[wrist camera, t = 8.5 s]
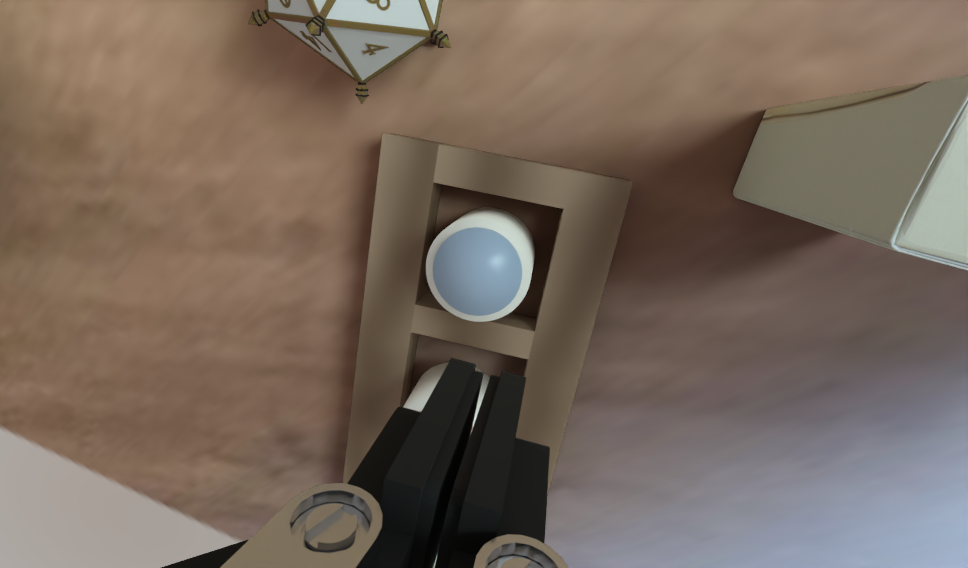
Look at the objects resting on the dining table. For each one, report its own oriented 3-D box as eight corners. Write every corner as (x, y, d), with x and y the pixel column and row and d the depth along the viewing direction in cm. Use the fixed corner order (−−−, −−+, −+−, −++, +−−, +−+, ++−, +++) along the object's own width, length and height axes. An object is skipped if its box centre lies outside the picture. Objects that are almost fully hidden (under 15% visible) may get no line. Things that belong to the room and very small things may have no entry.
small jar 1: (544, 217, 24) (541, 231, 20) (524, 304, 26) (518, 334, 22) (452, 198, 25) (432, 208, 21) (438, 285, 26) (416, 311, 22)
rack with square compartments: (627, 179, 24) (633, 182, 22) (520, 575, 31) (517, 603, 29) (395, 134, 25) (382, 133, 23) (347, 528, 32) (334, 551, 30)
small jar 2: (509, 373, 25) (500, 418, 21) (492, 450, 26) (480, 507, 22) (420, 352, 25) (394, 392, 21) (408, 429, 26) (381, 481, 22)
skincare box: (900, 138, 21) (1301, 127, 10) (854, 232, 23) (1161, 319, 11) (760, 105, 22) (988, 58, 10) (723, 200, 23) (889, 251, 12)
